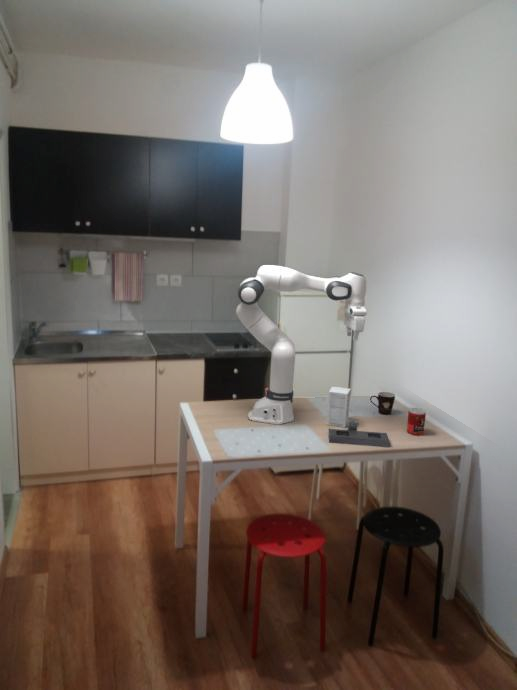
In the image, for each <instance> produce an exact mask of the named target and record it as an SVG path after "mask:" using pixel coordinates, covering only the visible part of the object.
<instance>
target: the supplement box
mask: <svg viewBox="0 0 517 690" xmlns="http://www.w3.org/2000/svg"><path fill="white" fill-rule="evenodd" d="M351 391H352V388H347V387H346V388H345V387H339V386H331V388H330V389H329V390H328V394H327V395H328V398H327V410H326V425H328V426H331V427H332V426H334V427H340V428H346V427H347V426H348V419H349V417H350V416H349V414H350V406H351V405H350V403H351V402H350V401H351Z"/></svg>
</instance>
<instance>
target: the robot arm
mask: <svg viewBox="0 0 517 690" xmlns="http://www.w3.org/2000/svg"><path fill="white" fill-rule="evenodd" d="M269 289H270V290H275V291H279V292H288V293H289V292H291V293H293V292H296V291H298V290H303V289H304V290H307V289H308V290H313V291H316V292H317V291H319V292H323V293H325V294H326V295H327V296H328V298H329V299H330V300H332V301H336V302H337V301H342V300H343V301H344V300H345V302H344V314H343V325H344V326H346V328H345V329H346V336H347V337H352V340H353V341H358V337H359V335H360V333H363V332H364V329H365V323H366V316H367V314H368V310H367V309H366V305H365V304H366V300H365V297H366V293H367V280H366V276H364V274H362V273H358V272H354V271H353V272H349V273H347V274H346V275H343V276H335V275H334V276H332V277H331V276H330V277H326V278H325V277H319V276H315V275H308V274H305V273H302V272H301V271H299V270H295V269H294V268H290V267H287V266H281V265H275V264H272V265H271V264H264V265H261V266H260V267H259V268H258V269H257V273H256V276H249V277H247V278H245V279H244V280H242V282H240V285H239V286H238V289H237V297H238V300H239V301H240V303H239V304H238V305H237V307H236V311H235V314H236V316H237V318H238V319H239V321H240V322H241V324H242V325H243V326H244V327H245V328H246V329H247V331H248V332H249V333H250V334H251V335H252V336H253V337H254V338H255V339H256V340H257V341H258V342H259V343H260V344H262V345H263V346H264V347H265V348H266V349H267V350H268V351H270V352H271V359H270V361H271V363H270V382H269V387H266V388H264V393H265V394H264V397H261V398H260V399H258V400H257V401H256V402H255V403H254V404H253V408H252V409H251V410H250V411H249V412H248V413H247V418H249V419H250V420H249V421H251V420H252V421H253V422H260V423H265V424H272V425H282V424H285V423H291V422H293V421H294V420H295V416H294V409H293V402H294V376H295V375H294V374H295V365H296V363H295V362H296V346H295V343H294V341H293V340H292V339H291V338H290V337H289V336H288V335H287V334H286V333H284V331H282V330H281V328H279V327H278V326H277V325H276V324H275V323H274V322H273V321H272V320H271V319H270V317H268V315H267V314H266V313H265V312H264V311H263V310H262V309H261V308H260V306H259V305H258V302H259V301H260V299H261V298H262V296H263V294H264V293H265V292H264V291H266V290H269ZM352 331H353V335H352Z"/></svg>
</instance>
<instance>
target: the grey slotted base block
mask: <svg viewBox="0 0 517 690" xmlns="http://www.w3.org/2000/svg"><path fill="white" fill-rule="evenodd" d="M327 434H328V435H327V436H328V437H327V438H328V443H331V444H343V445H344V444H345V445H346V444H347V445H355V446H356V445H357V446H370V447H382V448H384V447H385V448H389V446H390V438H389V436H388V433H387V432H379V431H378V432H377V431H376V432H375V431H365V430H364V431H363V430H357V431H352V430H347V429H338V428H337V429H336V428H328V433H327Z"/></svg>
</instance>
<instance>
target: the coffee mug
mask: <svg viewBox="0 0 517 690" xmlns="http://www.w3.org/2000/svg"><path fill="white" fill-rule="evenodd" d="M372 398H376V399H377V401H378V402H377V403H378V405H377V404H375V403H374V402H373V400H372ZM395 398H396V394H395V393H393V392H388V391H379V392H378V393H377V395H371V396H370V398H369V400H370V403H372V404H373V405H374V406H375V407H376V408H377V409H378V410H377V411H378V414H379V415H381V416H382V415H383V416H391V415H392V412H393V409H394V404H395V400H396V399H395Z"/></svg>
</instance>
